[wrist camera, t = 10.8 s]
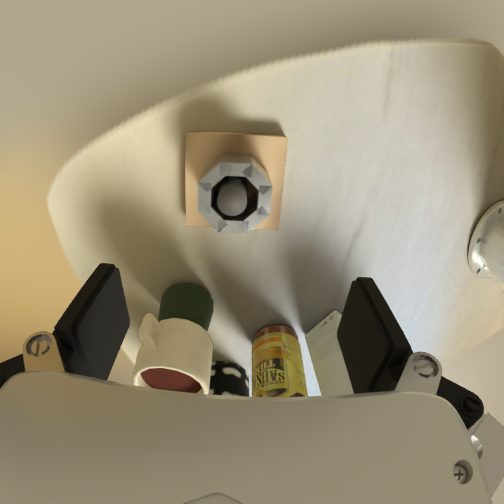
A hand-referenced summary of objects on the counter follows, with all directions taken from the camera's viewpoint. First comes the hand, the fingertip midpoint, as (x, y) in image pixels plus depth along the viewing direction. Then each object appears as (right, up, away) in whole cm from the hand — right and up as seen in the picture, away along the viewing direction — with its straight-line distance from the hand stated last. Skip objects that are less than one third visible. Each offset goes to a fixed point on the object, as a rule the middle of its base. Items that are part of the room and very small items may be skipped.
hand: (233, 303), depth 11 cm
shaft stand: (-1, +9, +16) cm, 19 cm away
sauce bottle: (+4, -10, +27) cm, 29 cm away
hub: (-1, +8, +15) cm, 17 cm away
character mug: (-7, -4, +23) cm, 25 cm away
